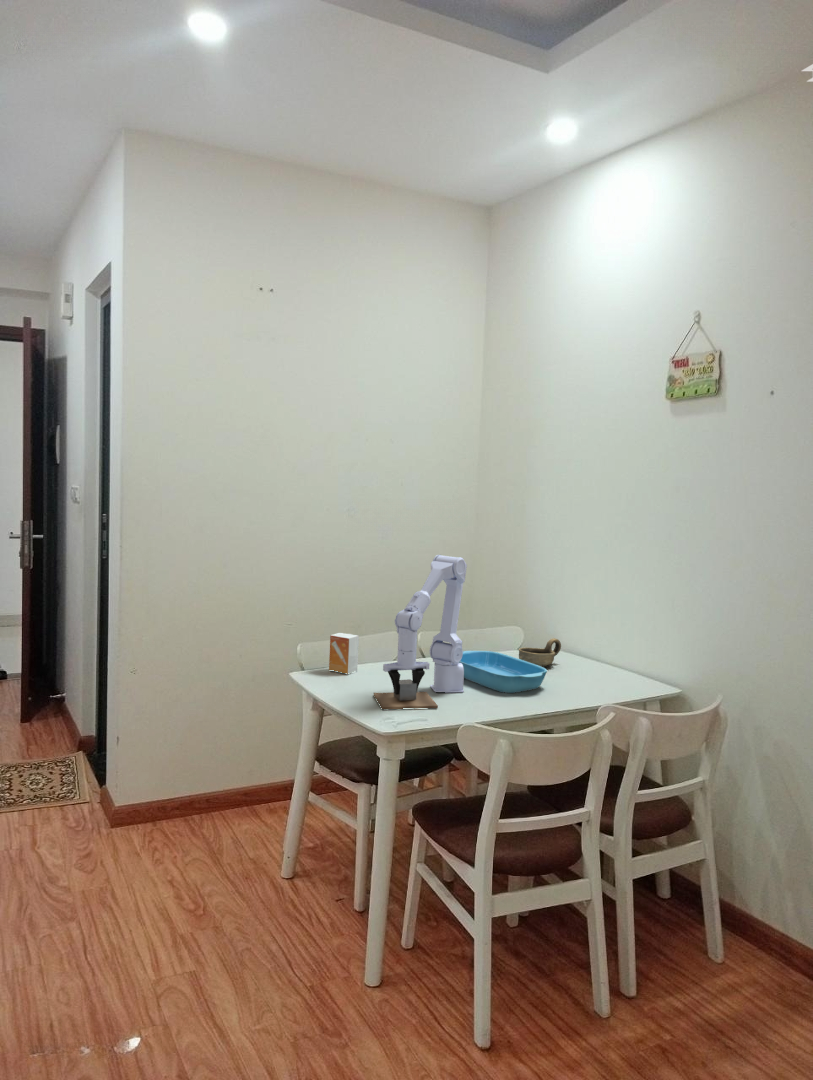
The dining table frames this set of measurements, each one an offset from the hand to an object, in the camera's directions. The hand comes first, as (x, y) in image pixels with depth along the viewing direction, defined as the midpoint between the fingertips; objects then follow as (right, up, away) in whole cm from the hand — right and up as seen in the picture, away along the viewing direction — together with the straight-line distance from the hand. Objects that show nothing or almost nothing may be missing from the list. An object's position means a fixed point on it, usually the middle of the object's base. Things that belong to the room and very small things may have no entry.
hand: (405, 693), depth 249 cm
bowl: (+50, 0, +55) cm, 75 cm away
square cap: (0, -2, 0) cm, 2 cm away
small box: (-22, +1, +34) cm, 41 cm away
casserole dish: (+31, -2, +30) cm, 43 cm away
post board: (0, -3, 0) cm, 3 cm away
